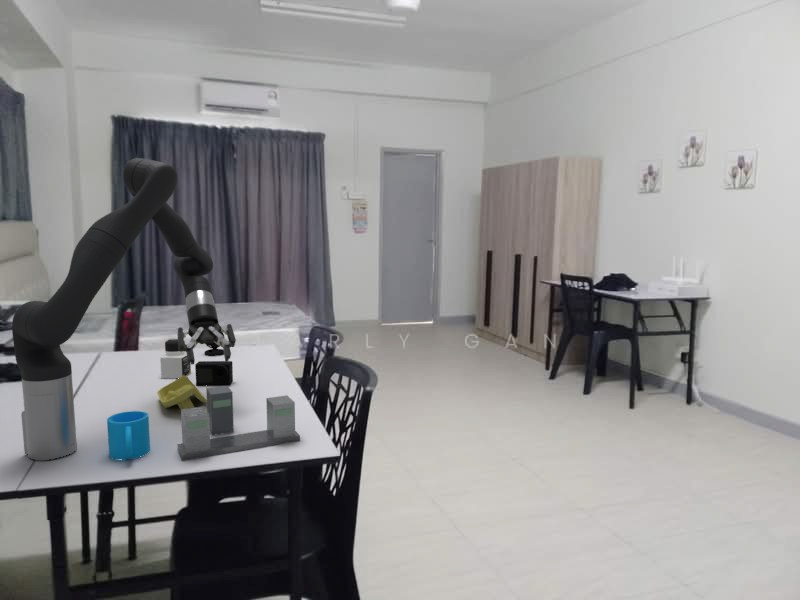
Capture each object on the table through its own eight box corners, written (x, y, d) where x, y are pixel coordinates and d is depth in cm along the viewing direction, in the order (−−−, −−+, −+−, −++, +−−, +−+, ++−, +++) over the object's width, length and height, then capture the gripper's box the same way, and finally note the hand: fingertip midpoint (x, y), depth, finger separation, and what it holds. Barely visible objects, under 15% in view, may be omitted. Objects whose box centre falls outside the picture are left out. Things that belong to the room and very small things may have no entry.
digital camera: (194, 387, 178) (193, 365, 177) (199, 382, 183) (198, 360, 182) (228, 387, 179) (228, 364, 178) (232, 382, 184) (232, 360, 183)
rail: (181, 460, 123) (179, 418, 122) (177, 449, 130) (175, 409, 128) (300, 440, 135) (299, 402, 134) (291, 430, 142) (290, 394, 140)
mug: (109, 449, 130) (107, 413, 128) (149, 443, 133) (147, 409, 132) (107, 470, 119) (105, 431, 118) (151, 463, 122) (149, 426, 121)
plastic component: (156, 391, 166) (188, 372, 170) (169, 412, 168) (201, 393, 171) (162, 405, 148) (198, 384, 152) (177, 429, 150) (212, 408, 154)
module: (212, 435, 138) (210, 394, 137) (207, 427, 144) (206, 388, 142) (233, 432, 140) (232, 392, 139) (228, 424, 146) (227, 385, 145)
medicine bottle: (182, 378, 187) (181, 342, 186) (160, 378, 187) (159, 342, 186) (191, 373, 194) (189, 337, 193) (170, 372, 194) (168, 337, 193)
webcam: (220, 351, 228) (219, 325, 226) (228, 354, 222) (227, 328, 221) (201, 353, 223) (200, 328, 221) (208, 357, 217) (207, 330, 216)
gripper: (174, 304, 152) (182, 356, 144) (229, 301, 159) (240, 350, 150) (172, 321, 158) (180, 371, 149) (226, 317, 164) (236, 366, 156)
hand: (210, 361), depth 150 cm, fingers open, 8 cm apart
